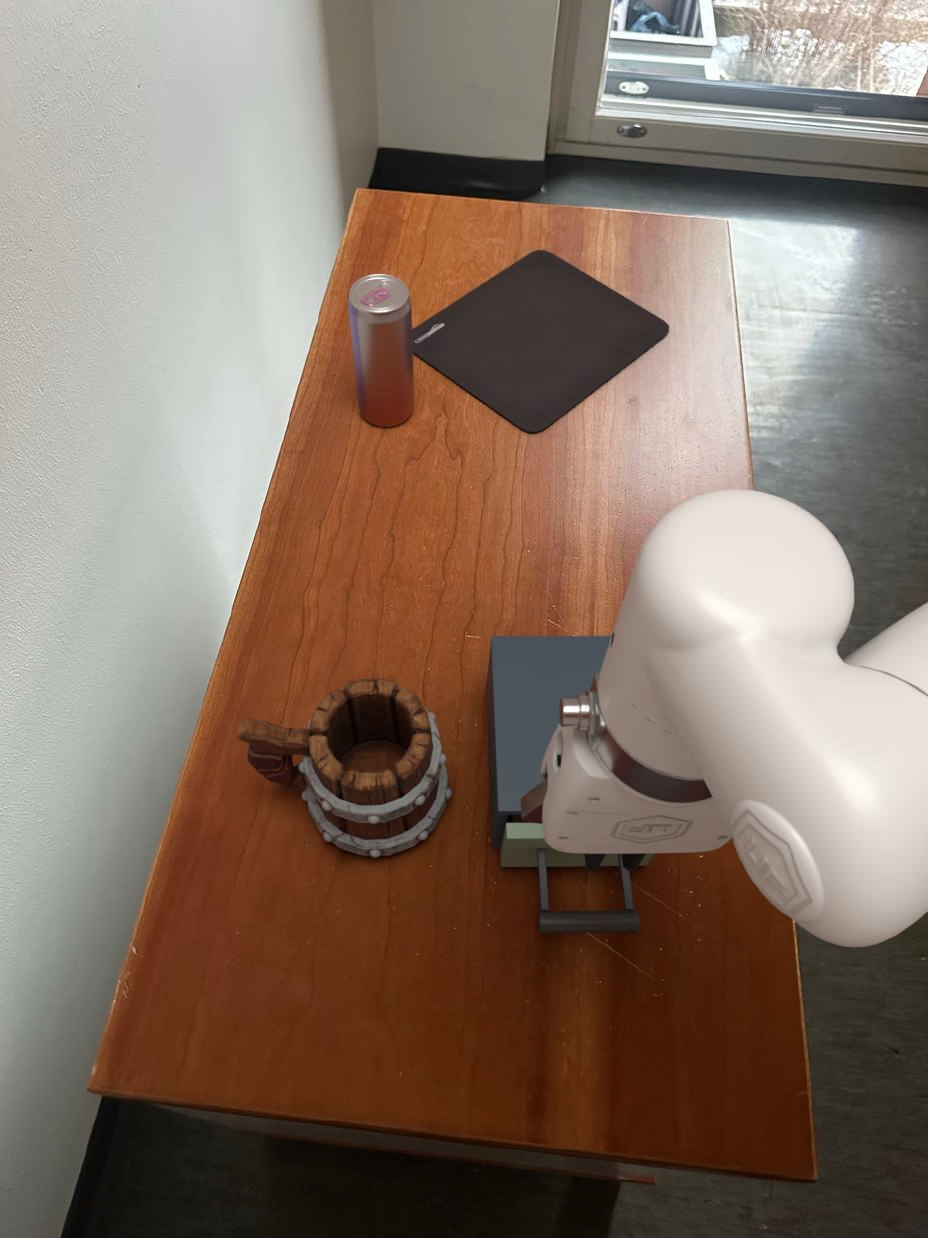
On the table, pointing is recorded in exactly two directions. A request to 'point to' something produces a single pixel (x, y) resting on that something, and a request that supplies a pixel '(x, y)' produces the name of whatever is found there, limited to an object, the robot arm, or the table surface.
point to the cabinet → (530, 709)
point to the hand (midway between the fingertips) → (608, 846)
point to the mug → (360, 766)
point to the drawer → (531, 850)
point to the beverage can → (382, 348)
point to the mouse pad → (536, 339)
